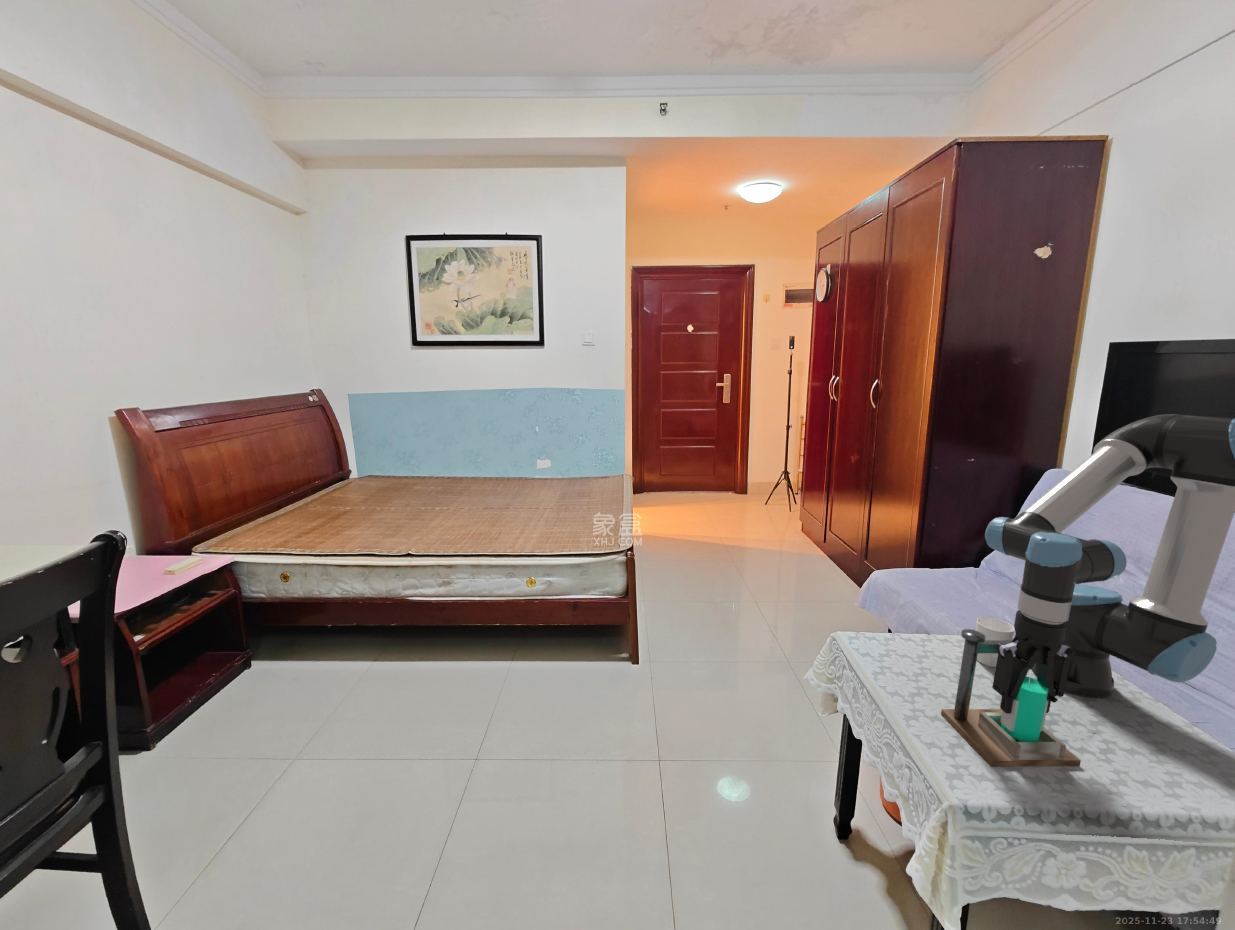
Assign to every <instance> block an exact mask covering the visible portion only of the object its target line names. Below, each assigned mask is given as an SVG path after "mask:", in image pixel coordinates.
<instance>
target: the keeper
mask: <svg viewBox="0 0 1235 930" xmlns="http://www.w3.org/2000/svg"><path fill="white" fill-rule="evenodd" d="M960 633H961V635H960V636H961V638H963V639H964V645H963V652H962V658H961V665H960V671H959V675H958V676H959V677H958V685H957V690H956V697H955V704H954V708H953V709H954V717H955V718H956V719H958V720H961V721H966V720H967V717H968V711H969V708H970V705H971V698H972V697H971V696H972V692H973V684H974V679H975V673H976V666H977V655H978V653H998V651H997V644H998V643H1002V644H1003V645H1006V644H1009V643H1012V641H1006V640H985V635H984V634H982V633H980V632H978V631H976V629H975V630H974V629H970V628H969V629H967V628H966V629H962V630H961V632H960ZM1015 651H1016V650H1015ZM1014 653H1015V652H1014Z"/></svg>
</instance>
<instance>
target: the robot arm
mask: <svg viewBox="0 0 1235 930" xmlns="http://www.w3.org/2000/svg"><path fill="white" fill-rule="evenodd" d="M1150 468H1151V469H1152V468H1163V469H1166V470H1167V469H1168V470H1172V471H1171V474H1170V480H1171V481H1172V482H1173V483H1174V484H1175V485H1176V488H1177V489H1176V492H1175V495H1174V497H1173V501H1172V504H1171V507H1170V510H1169V512H1168V516H1167V519H1166V522H1165V525H1164V529H1163V532H1162V534H1161V538H1160V539H1159V540H1160V541H1159V543H1158V546H1157V550H1156V554H1155V557H1154V558H1153V562H1152V565H1151V568H1150V572H1149V574H1148V578H1147V580H1146V583H1145V586H1144V590H1143V591H1142V592H1143V593H1142V594H1141V596H1137V597H1134V598H1132V599H1130V600H1129V603H1128V604H1124V603H1123V601H1124V599H1123V595H1121V593H1118V592H1117V591H1115V590H1112V589H1109V588H1107V587H1106V588H1105V587H1099V586H1094V585H1088V584H1089V583H1094V582H1105V581H1108V580H1109V579H1110V580H1111V579H1113V578H1117V577H1119V576H1120V575H1122V574H1123V573H1124V572H1125V570H1126V567H1127V563H1128V561H1127V556H1126V554H1125V552H1124V551H1123V549H1122V548H1121V547H1120V546H1118V545H1117V544H1116V543H1114V542H1112V541H1110V540H1105V539H1096V538H1095V539H1091V538H1090V539H1089V540H1088V539H1083V538H1081V537H1080V538H1079V537H1076V536H1073V535H1068V534H1066V533H1065V534H1064V533H1063V532H1064V531H1065V530H1066V529H1068V528H1069V527H1070V526H1071V525H1072V524H1073V523H1074V522H1076V521H1077V520H1078V519H1079V518H1080V517H1082V516H1083V515H1084V514H1085V513H1086V512H1088V511H1089V510H1090V509H1091V508H1092V507H1093V506H1095V505H1096V504H1097V503H1098V502H1099V501H1100V500H1102V499H1103V498H1104V497H1105V496H1107V495H1108V494H1109V493H1110V492H1111V491H1113V490H1114V489H1115V488H1116V487H1118V486H1119V485H1120V484H1121V483H1122V482H1124V480H1126V479H1127V478H1128V477H1132V476H1138V475H1140V474H1141V473H1143V472H1144V471H1145V470H1146V469H1150ZM1234 516H1235V418H1233V417H1231V418H1230V417H1217V416H1204V415H1203V416H1201V415H1189V414H1188V415H1187V414H1185V415H1184V414H1177V413H1176V414H1175V413H1167V414H1157V415H1154V416H1153V415H1152V416H1149V417H1148V416H1147V417H1145V418H1143V419H1142V418H1141V419H1138V420H1135V421H1134V422H1130V423H1129V424H1126V425H1124V426H1122V427H1119V428H1117V429H1116V430H1114V431H1112V432H1111V433H1109V434H1108V435H1105V437H1103V438H1102V439H1101V440H1100V441H1099V442H1098V443H1096V444H1095V446H1094V447H1093V452H1092V454H1091V455H1090V456H1088V457H1087V458H1086V459H1085V460H1083V462H1081V463H1080V464H1079V465H1077V467H1075V468H1073V470H1072V471H1070V472H1069V473H1068V474H1066V475H1065V476H1064V477H1063V478H1062V479H1060V480H1059V481H1058V482H1057V483H1056V484H1054V485H1053V486H1052V487H1051V488H1050V489H1049V490H1047V491H1046V492H1045V493H1043V494H1042V496H1040V497H1039V498H1038V499H1036V500H1035V501H1034V502H1033V503H1031V504H1030V505H1029V506H1027V508H1026V509H1025V510H1023V511H1022V512H1020V513H1019V514H1018V515H1017V516H1016V517H1014V518H1011V517H1004V516H999V517H995V518H993V519H992V520H991V521H989V523H988V525H987V527H986V529H985V533H984V538H985V541H986V545H987V546H988V547H989V548H991V549H992V550H994V551H997V552H999V553H1001V554H1003V555H1006V556H1010V557H1013V558H1016V559H1019V560H1022V561H1024V562H1025V563H1024V567H1023V575H1022V582H1021V585H1020V589H1019V591H1020V592H1019V596H1018V602H1017V609H1018V610H1017V611H1016V612H1015V618H1014V624H1013V627H1014V629H1015V632H1014V633H1015V634H1014V636H1013V640H1012V643H1009V644H1006V645H1003V644H1002V643H998V644H997V651H998V658H997V664H996V667H995V670H994V677H993V680H992V681H993V682H992V689H993V690H994V691H995V692H996V693H997V694H999V695H1000V696H1001V699H1000V700H1001V701H1000V708H999V709H1002V715H1001V721H1000V722H1001V723H1002V724H1003V725H1004V726H1005V727H1006V728H1008V729H1009V730H1010V731H1014V725H1015V720H1016V714H1017V709H1018V704H1019V701H1018V700H1016V697H1017V695H1018V693H1019V691H1020V688H1021V686H1022V684H1023V682H1024V680H1025V677H1027V675H1028V673H1029V670H1031V671H1032V672H1033V673H1034V675H1035V676H1036V680H1037V681H1038V682H1040V683H1041V684H1042V686H1044V687H1046V688H1048V689H1049V690H1048V695H1047V700H1046V705H1045V711H1044V716H1043V721H1042V726H1041V731H1043V727H1044V726H1045V720H1046V716H1047V714H1049V712H1050V708H1051V703H1057V702H1058V698H1057V697H1059V698H1062V697H1064V696H1065V692H1068V693H1071V694H1075V695H1078V696H1083V697H1088V698H1098V699H1099V698H1100V699H1101V698H1107V697H1110V696H1112V695H1113V692H1114V688H1115V680H1114V677H1113V671H1112V666H1111V663H1110V656H1113V657H1114V658H1117V659H1119V660H1121V661H1123V662H1125V663H1128V664H1130V665H1133V666H1135V667H1137V668H1139V669H1141V670H1144V671H1146V672H1147V673H1149V674H1151V675H1153V676H1154V675H1155V676H1158V677H1161V678H1163V679H1164V680H1168V681H1170V682H1174V683H1186V682H1188V681H1191V680H1192V679H1194V678H1196V677H1197V676H1199V675H1200V674H1201V673H1202V672H1203V671H1204V670H1205V669H1206V668H1207V667H1208V666H1209V665H1210V663H1211V661H1212V660H1213V659H1214V657H1215V654H1216V651H1217V644H1218V643H1217V639H1216V638H1215V637H1214V636H1212V635H1211V634H1210V633H1208V632H1206V631H1207V628H1208V625H1209V622H1208V621H1207V620H1206V618H1205V617H1204V616H1203V615H1202V612H1201V611H1202V609H1203V605H1204V602H1205V599H1206V597H1207V593H1208V591H1209V588H1210V585H1211V582H1212V579H1213V576H1214V573H1215V570H1216V567H1217V564H1218V562H1219V560H1220V559H1219V558H1220V556H1221V553H1222V550H1223V547H1224V544H1225V541H1226V539H1227V536H1228V532H1229V530H1230V527H1231V524H1232V521H1233V519H1234ZM1086 583H1087V584H1086ZM1015 650H1016V651H1015ZM1014 652H1015V653H1014ZM1044 728H1045V727H1044Z"/></svg>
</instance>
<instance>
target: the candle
mask: <svg viewBox="0 0 1235 930" xmlns="http://www.w3.org/2000/svg"><path fill="white" fill-rule="evenodd" d="M1048 690H1049V689H1048V688H1046V687H1044V686H1042V684H1041V683H1040V682H1038V681H1037V678H1032V676H1031V675H1030V676H1026V677H1025V680H1024V682H1023V684H1022V686H1021V688H1020V691H1019V693H1018V695H1017V697H1016V700H1018V701H1019V704H1018V709H1017V714H1016V720H1015V725H1014V731H1010V730H1009V729H1008V728H1006V727H1005V726H1004V725H1003V724H1001V727H1002V729H1003V730H1004V731H1006V732H1007V733H1008V734H1009V735H1010V736H1011V737H1013V738H1015V739H1018V740H1020V741H1024V742H1038V740H1039V737H1040V731H1041V726H1042V721H1043V716H1044V711H1045V705H1046V700H1047V695H1048Z"/></svg>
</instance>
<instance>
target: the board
mask: <svg viewBox="0 0 1235 930" xmlns="http://www.w3.org/2000/svg"><path fill="white" fill-rule="evenodd" d="M954 709H955V708H950V709H949V708H948V709H947V708H941V712H940V716H942V717H943V718H944V719H945V720H946V722H948V723H949V724H950V725H951V726H952V727H953V728H954V730H956V731H957V732H958V733H959V734H960V736H961V737H962V738H963V739H964V740H965V741H966V743H968V744H969V745H970V746H971V748H973V750H975V752H976V753H978V754H979V756H980V757H981V758H982V759H983V760H984V761H985V762H986V763H987V764H988V765H989V766H990V767H1080V766H1081V761H1082V760H1081V759H1080V758H1079V757H1077V756H1076V755H1075V754H1074V753H1073V752H1071V751H1070V750H1069V749H1068V748H1067V745H1066V744H1065V743H1064V742H1062V741H1061V740H1060V739H1059V738H1057V737H1056V736H1055V735H1054V734H1053V733H1052V732H1051V731H1050V730H1048V729H1046V727H1043V731H1040V737H1039V740H1038V742H1024V741H1020V740H1018V739H1015V738H1013V737H1011V736H1010V735H1009V734H1008V733H1007V732H1006V731H1004V730H1003V729H1002V727H1001V724H1002V723H1001V722H1000V721H1001V715H1002V709H1001V708H999V709H996V708H991V709H990V708H988V709H987V708H976V709H975V708H970V709H969V711H968V717H967V720H966V721H961V720H958V719H956V718H955V717H954Z"/></svg>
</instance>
